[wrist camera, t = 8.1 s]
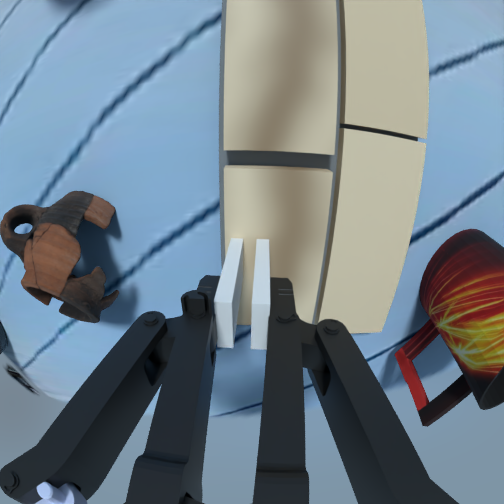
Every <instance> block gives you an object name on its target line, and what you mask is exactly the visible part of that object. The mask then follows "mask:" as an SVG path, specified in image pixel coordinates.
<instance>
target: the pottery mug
mask: <svg viewBox="0 0 504 504" xmlns="http://www.w3.org/2000/svg"><path fill="white" fill-rule="evenodd" d="M114 212H115V208H114V207H113V206H112V205H111V204H110V203H109V202H107V201H105V200H104V199H102V198H99V197H97V196H94V195H93V194H90V193H86V192H84V191H72V192H70V193H68V194H67V195H65V196H64V197H63V198H62V199H60V200H59V201H57V202H56V203H55V204H53V205H52V206H50V207H45V208H42V207H38V206H34V205H19V206H16V207H14V208H12V209H11V210H9V211H8V212H7V213H5V215H4V217H3V220H2V221H1V224H0V235H1V237H2V240H3V242H4V244H5V245H6V246H7V248H8V249H10V250H11V251H12V252H14V253H15V254H17V255H18V256H19V257H20V259H21V260H22V262H23V263H24V268H25V270H26V272H25V275H24V277H23V279H22V280H21V284H22V286H23V288H24V289H25V290H26V291H27V292H29V293H30V294H31V295H32V296H33V297H35V298H36V299H38V300H39V301H41V302H42V303H44V304H45V305H47V306H48V305H49V303H50V301H51V298H52V297H53V298H56V299H58V300H60V301H63V302H64V303H63V304H62V306H61V307H60V309H59V312H60V313H62V314H64V315H66V316H69V317H71V318H74V319H77V320H80V321H84V322H91V323H98V322H99V321H100V314H101V311H102V310H104V309H105V308H107V307H109V306H110V305H111V304H112V303H113V302H114V301H115V299H116V298H117V296H118V294H119V291H118V290H115V291H114V292H113V293H111V294H110V295H108V296H105V297H103V296H104V292H105V286H104V284H105V282H106V276H105V274H104V272H103V270H102V269H101V268H100V267H96V268H95V269H94V270H93V271H92V272H91V274H87V275H85V276H83V277H79V278H76V277H75V276H74V275H70V274H71V272H72V270H73V268H74V267H75V265H76V263H77V262H78V261H79V259H80V253H81V247H80V244H79V242H78V241H77V240H76V238H75V237H76V235H77V232H78V229H79V225H80V223H81V222H82V221H83V220H84V219H85V220H87V221H90V222H92V223H94V224H96V225H97V226H99V227H101V228H102V229H106V228H107V227H108V226H109V224H110V221H111V218H112V216H113V214H114ZM24 223H29V224H31V225H32V226H33V228H32V230H31V231H30V232H29V233H26V234H17V233H15V232H14V230H15V228H16V227H17V226H19V225H20V224H24Z"/></svg>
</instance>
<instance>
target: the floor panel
mask: <svg viewBox="0 0 504 504" xmlns="http://www.w3.org/2000/svg"><path fill="white" fill-rule="evenodd" d="M226 9H227V0H222V20H221V46H220V87H219V185H220V229H221V259H222V269H223V265H224V262H225V223H224V167H225V166H226V165H257V166H287V167H306V168H321V169H328V170H330V171H331V172H333V178H332V188H331V198H330V207H329V216H328V224H327V232H326V240H325V247H324V254H323V261H322V268H321V274H320V280H319V286H318V292H317V298H316V304H315V309H314V315H313V320H312V324H314V325H317V324H318V323H319V322H320V321H321V320H324V319H335V320H338V321H340V322H342V323H343V324H344V325H345V326H346V328H347V330H348V331H349V333H373V332H381V331H382V329H383V326H384V323H385V321H386V318H387V315H388V312H389V310H390V307H391V304H392V301H393V298H394V295H395V292H396V289H397V285H398V282H399V279H400V275H401V272H402V269H403V265H404V261H405V258H406V254H407V250H408V246H409V242H410V238H411V234H412V229H413V225H414V220H415V215H416V210H417V205H418V200H419V194H420V188H421V182H422V175H423V168H424V160H425V151H426V143H421V142H417V141H418V138H423V139H427V128H428V110H429V64H428V47H427V35H426V26H425V18H424V11H423V5H422V0H336V12H337V37H338V92H337V120H336V138H335V153H334V155H328V154H317V153H303V152H285V151H255V150H224V67H225V33H226Z"/></svg>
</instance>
